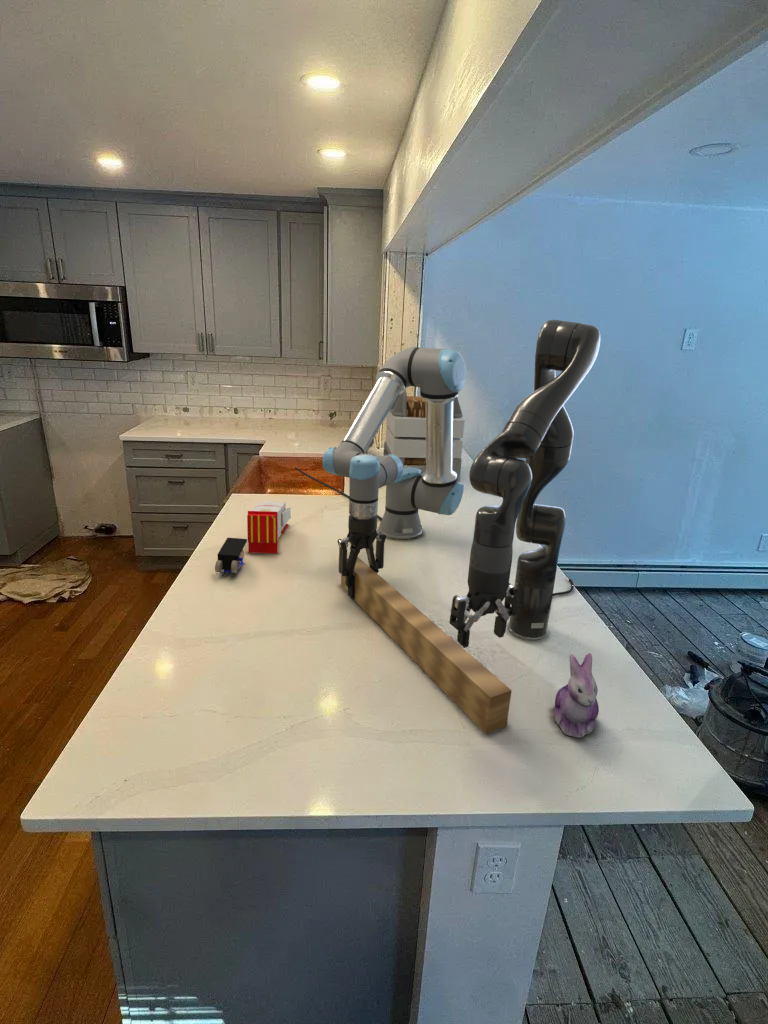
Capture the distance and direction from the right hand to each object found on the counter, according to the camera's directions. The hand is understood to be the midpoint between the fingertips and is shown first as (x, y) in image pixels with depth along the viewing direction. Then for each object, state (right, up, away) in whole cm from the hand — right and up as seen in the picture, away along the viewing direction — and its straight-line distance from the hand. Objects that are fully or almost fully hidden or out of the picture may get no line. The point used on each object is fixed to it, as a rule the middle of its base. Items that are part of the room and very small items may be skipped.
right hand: (481, 640), depth 109 cm
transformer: (-1, +43, +166) cm, 172 cm away
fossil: (-31, +55, +194) cm, 204 cm away
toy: (-57, +16, +83) cm, 102 cm away
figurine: (+19, -17, +2) cm, 25 cm away
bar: (-13, -7, +26) cm, 30 cm away
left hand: (-25, +2, +47) cm, 53 cm away
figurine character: (-64, +7, +59) cm, 87 cm away
